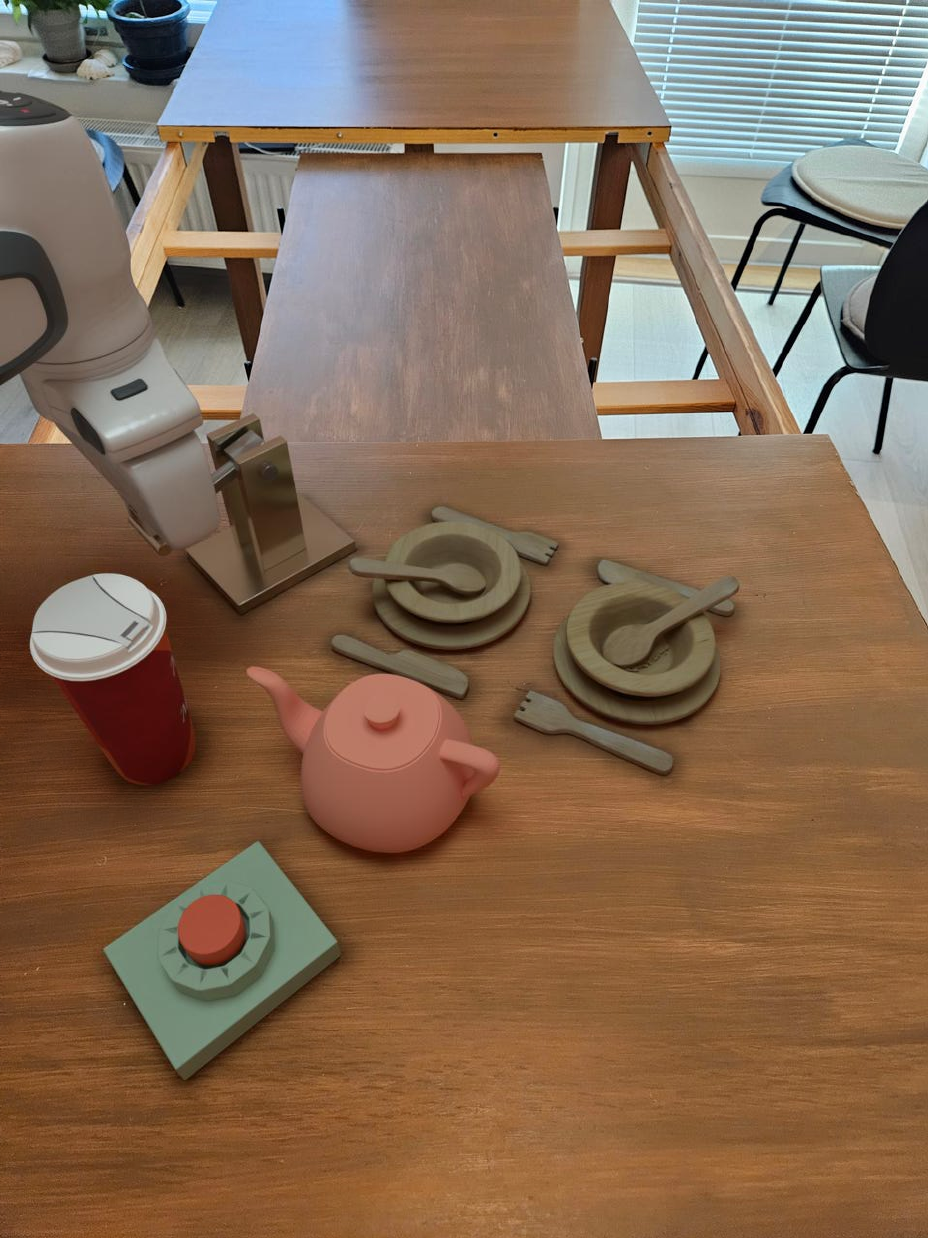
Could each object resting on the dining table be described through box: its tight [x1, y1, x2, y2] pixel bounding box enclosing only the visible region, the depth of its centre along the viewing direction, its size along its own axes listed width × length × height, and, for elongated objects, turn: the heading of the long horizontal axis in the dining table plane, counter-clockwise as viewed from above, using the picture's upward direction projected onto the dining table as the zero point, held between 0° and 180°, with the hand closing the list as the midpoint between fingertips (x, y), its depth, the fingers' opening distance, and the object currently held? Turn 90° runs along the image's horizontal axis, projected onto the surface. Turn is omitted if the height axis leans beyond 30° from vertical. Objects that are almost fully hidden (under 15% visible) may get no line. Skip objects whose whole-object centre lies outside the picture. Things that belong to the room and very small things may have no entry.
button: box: [178, 895, 246, 966], centre depth 52 cm, size 4×4×2 cm
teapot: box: [246, 666, 501, 854], centre depth 61 cm, size 12×18×10 cm
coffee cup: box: [29, 572, 197, 786], centre depth 60 cm, size 8×8×15 cm
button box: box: [102, 840, 342, 1081], centre depth 54 cm, size 11×9×4 cm
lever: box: [127, 430, 267, 557], centre depth 71 cm, size 12×5×2 cm, turn 131°
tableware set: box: [331, 506, 740, 776], centre depth 72 cm, size 30×20×6 cm, turn 64°
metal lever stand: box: [185, 413, 357, 615], centre depth 75 cm, size 12×9×13 cm
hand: (150, 524), depth 69 cm, fingers closed, pressing on lever
